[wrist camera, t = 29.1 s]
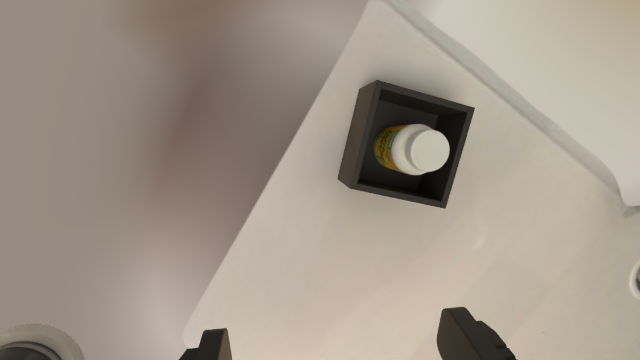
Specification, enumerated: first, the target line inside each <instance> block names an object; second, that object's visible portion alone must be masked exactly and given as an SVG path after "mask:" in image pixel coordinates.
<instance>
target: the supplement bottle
mask: <svg viewBox="0 0 640 360" xmlns="http://www.w3.org/2000/svg"><path fill="white" fill-rule="evenodd" d="M449 150H450V148H449V143H448V140H447V139H446V137H445V136H444V135H443V134H442V133H440V132H438V131H435V130H433V129H431V128H430V127H428V126H426V125H423V124H410V125H397V126H390V127H387V128H385V129H383V130H382V131H381V132H380V133H379V134H378V135H377V136H376V138H375V140H374V144H373V152H374V155H375V157H376V159H377V161H378V162H379V163H380V164H381V165H382V166H384V167H386V168H389V169H392V170H396V171H399V172H403V173H406V174H410V175H421V174H424V173H426V172H431V171H435V170H437V169H439V168H441V167H442V166H443V165H444V164H445V162H446V161H447V159H448V156H449Z"/></svg>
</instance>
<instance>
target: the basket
mask: <svg viewBox="0 0 640 360" xmlns="http://www.w3.org/2000/svg"><path fill="white" fill-rule="evenodd" d="M474 109H475V108H474V107H470V106H466V105H463V104H459V103H456V102H452V101H449V100H445V99H442V98H438V97H435V96H431V95H428V94H424V93H420V92H417V91H413V90H410V89H406V88H403V87H399V86H396V85H392V84H389V83H385V82H382V81H378V80H376V81H374V82H372V83H370V84H368V85H367V86H365V87H363V88H361V89H359V93H358V97H357V101H356V105H355V109H354V113H353V118H352V122H351V126H350V130H349V134H348V138H347V142H346V146H345V150H344V155H343V159H342V163H341V167H340V171H339V175H338V180H340V181H341V182H342V183H344V184H345V185H346V186H347V187H349V188H350V189H355V190H360V191H364V192H369V193H374V194H379V195H383V196H388V197H393V198H397V199H402V200H407V201H412V202H416V203H421V204H426V205H430V206H435V207H440V208H444V209H445V208H446V205H447V202H448V198H449V195H450V191H451V188H452V185H453V181H454V178H455V174H456V171H457V167H458V164H459V161H460V157H461V154H462V150H463V147H464V144H465V140H466V137H467V133H468V130H469V126H470V123H471V120H472V116H473V113H474ZM410 124H423V125H426V126H428V127H430V128H431V129H433V130H435V131H438V132H440V133H442V134H443V135H444V136H445V137H446V139H447V140H448V143H449V148H450V150H449V156H448V159H447V161H446V162H445V164H444V165H443V166H442V167H441V168H439V169H437V170H435V171H431V172H426V173H424V174H421V175H410V174H406V173H403V172H399V171H396V170H392V169H389V168H386V167H384V166H382V165H381V164H380V163H379V162H378V161H377V159H376V157H375V155H374V152H373V144H374V140H375V138H376V136H377V135H378V134H379V133H380V132H381V131H382V130H383V129H385V128H387V127H390V126H397V125H410Z"/></svg>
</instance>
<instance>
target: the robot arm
mask: <svg viewBox="0 0 640 360" xmlns="http://www.w3.org/2000/svg"><path fill="white" fill-rule="evenodd" d="M437 346H438V350H439V353H440V355H441V357H442V359H443V360H516V358H515V356H514V354H513V353H512V352H511V351H510V349H509V348H507V347H506V344H505V343H504V342H503V340H502V339H501V338H500V337H499V335H498V334H497V333H496V332H495V331H494V330H493V329H491V328H490V327H489V326H488V325H486V324H485V323H484V322H482V321H476V320H475V319H474V318H473V316H472V315H471V314H470V312H469V311H468V310H467V309H466V308H465V307H456V308H445V309H443V310H442V313H441V318H440V323H439V329H438V334H437ZM0 360H62V359H61V357H60V356H59V355H58V354H57V353H56V352H55V351H53V350H52V349H51V348H49V347H47V346H45V345H43V344H40V343H36V342H30V341H18V342H12V343H8V344H6V345H3V346H1V347H0ZM179 360H232V355H231V349H230V342H229V336H228V330H227V328H223V329H212V330H205V331H204V332H203V334H202V338H201V341H200V344H199V348H192V349H187V350H186V351H185V352H184V354H183V355H182V357H181V358H180V359H179ZM517 360H518V359H517Z"/></svg>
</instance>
